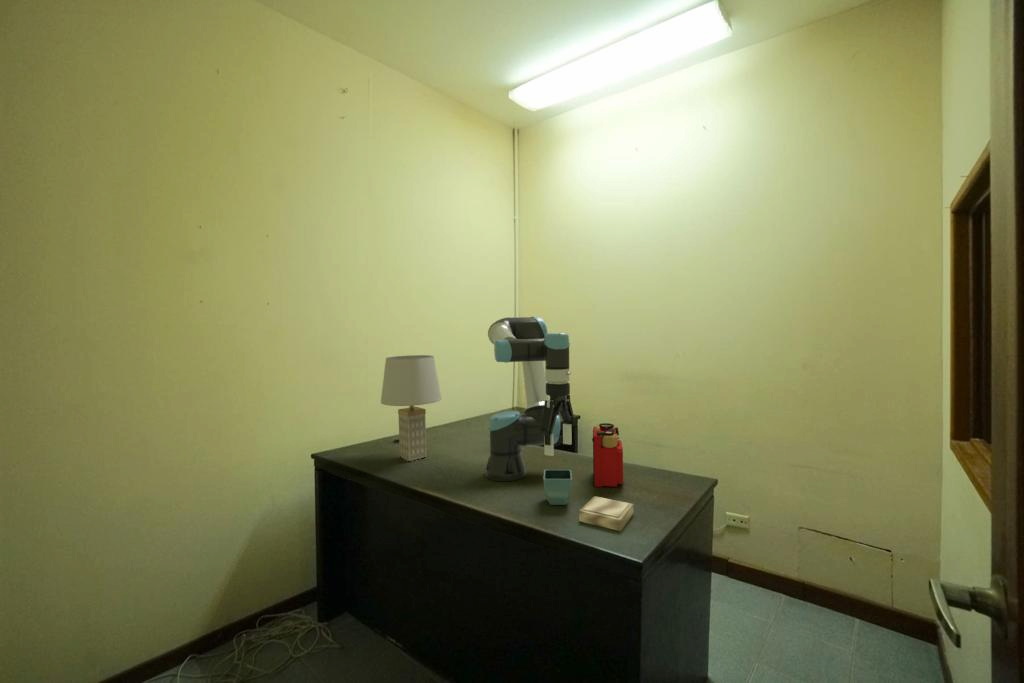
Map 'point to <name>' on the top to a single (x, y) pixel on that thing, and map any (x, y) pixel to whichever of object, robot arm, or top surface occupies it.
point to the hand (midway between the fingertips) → (558, 449)
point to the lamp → (411, 398)
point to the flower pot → (557, 486)
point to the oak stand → (606, 513)
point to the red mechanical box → (607, 456)
